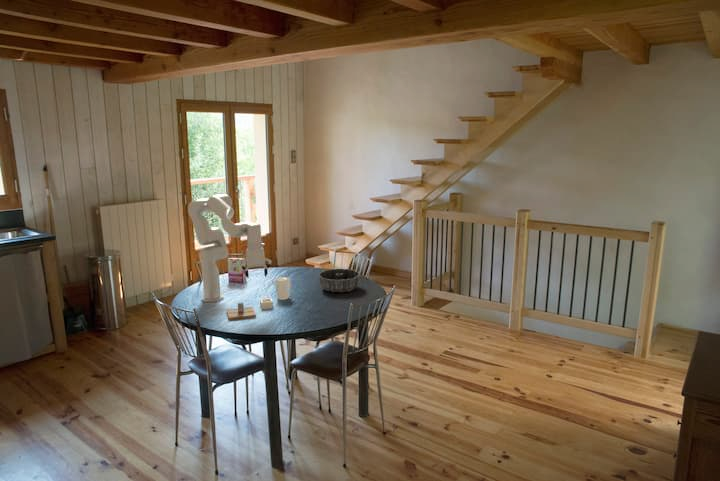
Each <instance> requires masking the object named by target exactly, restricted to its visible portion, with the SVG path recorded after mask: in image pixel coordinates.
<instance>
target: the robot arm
mask: <svg viewBox="0 0 720 481" xmlns="http://www.w3.org/2000/svg"><path fill="white" fill-rule="evenodd" d="M232 205H233V200H232V197H230V196H229V195H228V194H225V193H224V194H214V195H212V196H209V197H207V198H206V197H203V198H198V199H197V198H196V199H194V200H192V201H190V203H189V204H188V207H187V208H188V210H187V211H188V215H189V217H190V219H191V221H192V224H193V228H194V232H195V236H196V240H197V241H198V244H199V245H201V246H207V245H208V246H207V247H204V248H201V250H199V252H198V258H199V262H200V265H201V266H200V267H201V273H202V274H201V275H202V286H203V288H202V289H203V296H202V297H201V301H202V302H204V303H205V302H206V303H213V302H219V301H222V300H223V299H224V295H223V294H221V284H220V283H221V282H220V271H219V270H220V269H219V267H218V265H217V264H216V262H220V261H223V260H226V259H228V256H229V249H228V246H227V242H226V237H225V235H224V232H226V233H227V234H228V235H229V236H230V237H232V238H235V239H237V238H241V237H246V242H247V243H246V244H247V248H246V249H245V260H244V261H242V262H241V263H240V266H241V267H242V269H244V270H245V274H246V279H249V269H250V268H258V267H259V268H260V267H261V268H262V267H263V268H264V269H263V270H264V271H263V272H264V273H263V274H264V276H265V277H267V275H268V269H269V268H270V266H271V264H272V263H273V262H272V261H273V260H271V259H270V258H267V257H266V256H265V255H266V254H265V250H264V246H265V243H263V242H262V226H261V224H260V223H257V222H256V223H255V222H250V221H244V222H243V221H242V222H237V223H234V222H233V221H232V220H231V219H232V218H233V216H234V214H235V210H234V209H233V207H232ZM205 213H206V214H208V213H214V214H215V215H217V216H218V218H220V219H221V220H220V221H221V222H220V223H221V226H222V229H223V230H222V229H221V228H220V227H216V226H214V227H211V226H210V223H209V220H208V218H206V216H205V215H204V214H205ZM223 231H224V232H223ZM209 245H212V246H209ZM266 262H268V263H267V265H266ZM244 263H246V267H244V266H243V264H244Z"/></svg>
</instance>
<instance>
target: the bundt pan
mask: <svg viewBox="0 0 720 481" xmlns="http://www.w3.org/2000/svg"><path fill="white" fill-rule="evenodd" d="M317 275H318V278H319V283H320V286H321V288H322V289H323V290H325V291H327V292H329V291H331V292H332V293H333V292H334V293H337V292H340V293H344V292H345V293H346V292H352V291H353V290H352V289H354V290H355V289H357V287H358V285H359V281H360V276H361V273H360V272H359V271H357V270H356V269H349V268H331V269H326V270H323V271H320V273H318V274H317Z"/></svg>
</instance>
